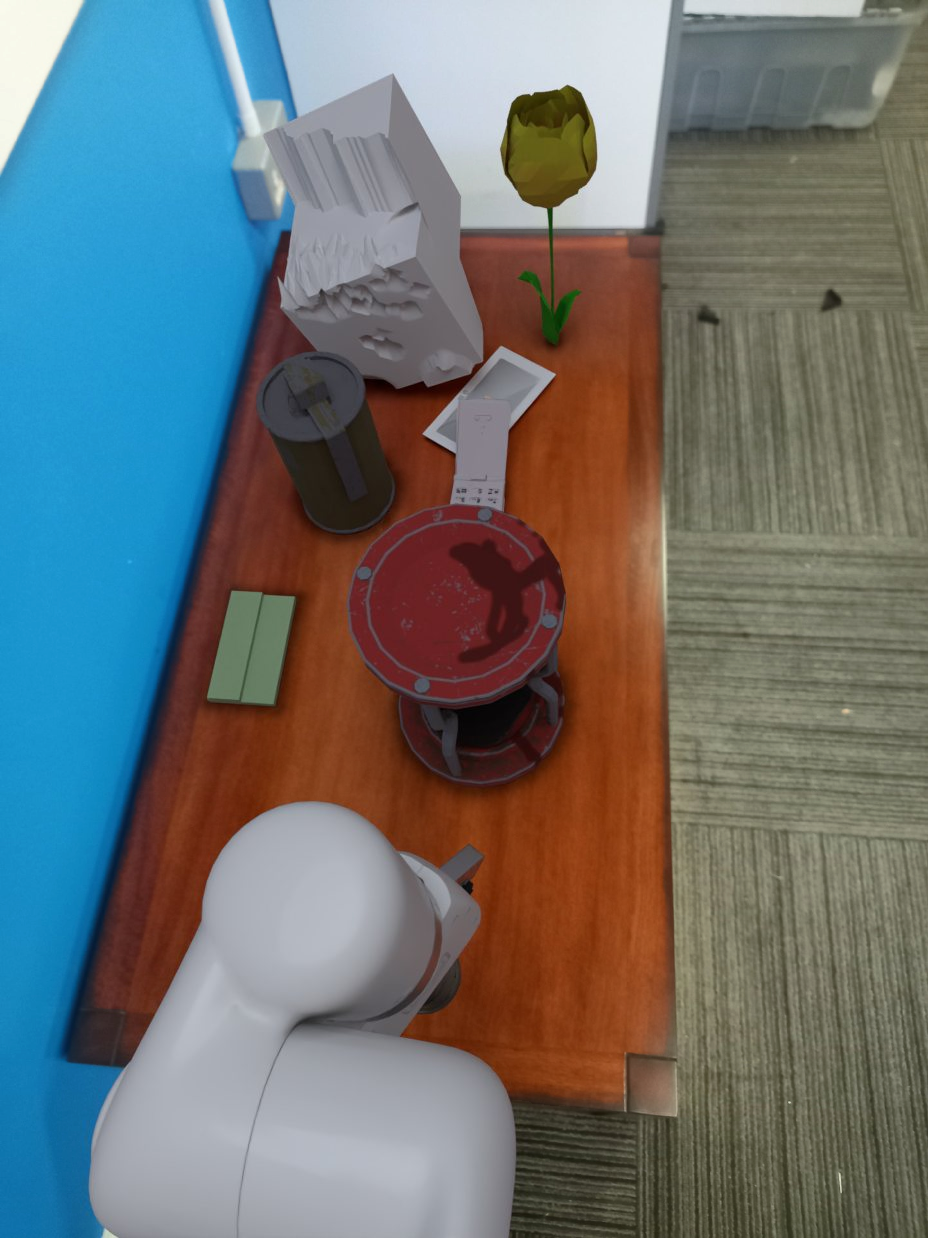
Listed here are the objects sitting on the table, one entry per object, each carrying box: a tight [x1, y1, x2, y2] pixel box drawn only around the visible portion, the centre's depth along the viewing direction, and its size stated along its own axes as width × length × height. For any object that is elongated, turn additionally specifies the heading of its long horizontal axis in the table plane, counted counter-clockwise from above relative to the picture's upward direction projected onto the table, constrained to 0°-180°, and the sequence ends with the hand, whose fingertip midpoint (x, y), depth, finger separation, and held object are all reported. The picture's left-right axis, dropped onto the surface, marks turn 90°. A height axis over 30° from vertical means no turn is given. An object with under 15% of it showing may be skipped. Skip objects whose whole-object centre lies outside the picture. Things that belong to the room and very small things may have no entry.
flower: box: [499, 84, 598, 346], centre depth 92 cm, size 9×8×30 cm
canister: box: [255, 350, 396, 535], centre depth 90 cm, size 11×10×20 cm
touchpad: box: [422, 345, 557, 454], centre depth 101 cm, size 8×15×2 cm, turn 143°
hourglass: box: [346, 503, 567, 789], centre depth 76 cm, size 16×16×25 cm
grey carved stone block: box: [262, 73, 484, 390], centre depth 97 cm, size 20×16×25 cm
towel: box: [206, 590, 298, 707], centre depth 92 cm, size 12×7×1 cm, turn 174°
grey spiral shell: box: [416, 957, 462, 1015], centre depth 60 cm, size 6×6×15 cm
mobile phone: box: [449, 399, 511, 512], centre depth 93 cm, size 6×6×25 cm
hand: (415, 965), depth 58 cm, fingers closed on grey spiral shell, 5 cm apart
